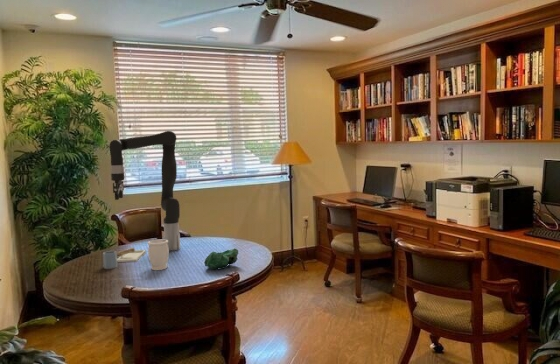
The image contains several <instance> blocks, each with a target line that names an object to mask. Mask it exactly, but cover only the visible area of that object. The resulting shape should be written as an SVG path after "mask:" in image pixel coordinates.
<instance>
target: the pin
mask: <svg viewBox="0 0 560 364" xmlns="http://www.w3.org/2000/svg"><path fill="white" fill-rule="evenodd" d="M135 250H136V249H135V247H130V248H126V249H124V250H120V251H117V257H120V256H121V255H124V254H127V253H131V252H134V251H135Z"/></svg>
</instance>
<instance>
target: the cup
mask: <svg viewBox="0 0 560 364" xmlns="http://www.w3.org/2000/svg"><path fill="white" fill-rule="evenodd" d="M117 252H118V251H116V250H108V251H103V253H102V263H103V264H102V265H103V269H105V270H109V269H110V270H111V269H115V268H116V269H117V267H118V262H117V259H118V256H117Z"/></svg>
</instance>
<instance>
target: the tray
mask: <svg viewBox="0 0 560 364" xmlns="http://www.w3.org/2000/svg"><path fill="white" fill-rule="evenodd" d="M145 254H147V251H146V249H135V251H134V252H131V253H127V254H124V255H121V256H118V257H117V263H131V262H132V263H133V262H138V261H139V260H140V258H142V257H144V255H145Z"/></svg>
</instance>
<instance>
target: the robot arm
mask: <svg viewBox="0 0 560 364" xmlns="http://www.w3.org/2000/svg"><path fill="white" fill-rule="evenodd" d="M176 141H177V135H176V133H175V132H174V131H172V130H165V131H163V132H161V133H156V134H151V135H143V136H134V137H128V138H122V139H113V140H111V141H110V142H109V153H110V176H111V177H110V179H111V181H113V183H112V193H113V194H114V201H117V200H120V199H123V198H124V190H125V188H124V187H125V186H124V180H125V166H124V159H123V151H126V150H135V149H141V148H146V147H151V146H157V145H158V146H162V158H161V197H160V198H161V199H160V206H161V208H162V210H163V211H165V217H164V218H163V235H164V238H163V239H165V240H168V243H167V245H168V249H169V252H170V251H171V250H172V251H179V250H180V249H181V234H180V225H179V224H180V223H179V219H180V215H181V214H180V213H181V212H180V207H181V206H180V202H179V200H178V199H177V198H175V197H174V188H175V187H174V186H175V183H176V180H177V176H178V175H177V171H178V170H177V168H178V167H177V159H176V153H175V152H176ZM172 251H171V252H172Z"/></svg>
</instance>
